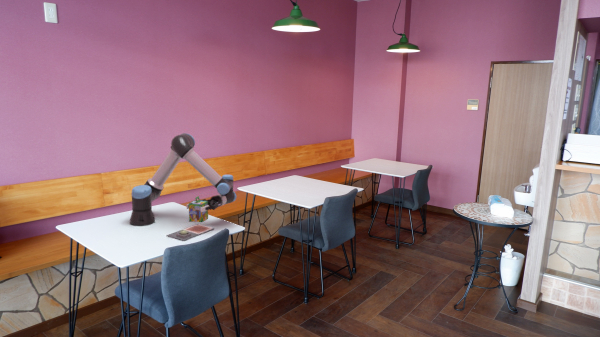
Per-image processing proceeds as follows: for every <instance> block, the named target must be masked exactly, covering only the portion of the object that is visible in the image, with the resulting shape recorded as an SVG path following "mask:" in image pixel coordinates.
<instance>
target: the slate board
mask: <svg viewBox="0 0 600 337" xmlns="http://www.w3.org/2000/svg"><path fill="white" fill-rule="evenodd" d="M181 230H187V234H186V235H181V234H180V231H181ZM214 230H215V228H214V227H212V226H207V225H204V224H201V223H200V224H199V223H198V224H194V225H192V226H188V227H186V228H183V229H180V230H177V231H175V232H172V233H169V234H166V237H167V236H168V238H172V239H174V238H175V240H178V241H181V242H185V241H188V240H191V239H193V238H196V237H198V236H201V235H202V234H206V233H208V232H211V231H214Z"/></svg>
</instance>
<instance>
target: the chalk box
mask: <svg viewBox="0 0 600 337" xmlns="http://www.w3.org/2000/svg"><path fill="white" fill-rule="evenodd" d="M194 199H195V200H193V201H191V202H188V204H189V209H188V221H189V222H193V223H204V222H205V221H207V220H208V219H209V210H207V211H204V212H201V207H204V206H207V205H208V201H200V200H201V199H200V196H196V197H195V198H194Z"/></svg>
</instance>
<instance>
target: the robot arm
mask: <svg viewBox="0 0 600 337" xmlns="http://www.w3.org/2000/svg"><path fill="white" fill-rule="evenodd" d="M170 144H171V146H170V148H169V149H170V151H169V153H168V154H167V155H166V157H165V159H164V160H163V161H162V163H161V164H160V165H159V167H158V169H157V170H156V172H155V173H154V174H153V176H152V177H151V178H150V177H149V178H148V179H147V180H146V182H145V183H144V184H141V185H136V186H134V187H133V188H132V189H131V208H132V212H131V214H130V219H129V224H130V225H131V226H137V227H138V226H140V227H142V226H149V225H152V224H154V223H155V221H156V219H155V215H154V212H153V210H152V208H153V206H152V202H154V201H155V200H157V199H158V198H159V197H160V196H161V193H162V191H163V190H164V184H165V183H166V181H167V180H168V179H169V177H170V176H171V174H172V173H173V172H174V170H175V169H176V167H177V166H178V164H179V163H180V161H181V160H186V162H187V163H188V164H190V166H192V167H193V168H194V169H195V170H196V172H198V173H199V174H200V175H201V176H202V177H203V178H205V180H207V181H208V182H209V183H210V184H211V185H212V186H213V187H214V188H216V192H217V194H216V195H213V196H211V197H210V199H206V198H204V199H200V201H208V205H207V206H204V207H201V212H204V211H207V210H208V211H209V210H210V211H211V210H213V211H215V210H216V209H218V208H219V207H222V206H224V205H227V204H228V205H229V204H232V203H234V202H235V201H236V200H237V194H236V192H235V191H234V176H233V175H232V174H223V175H222V176H221V175H220V174H219V173H218V172H217V171H216V170H215V169H214V168H213V167H212V166H211V165H209V164H208V163H207V162H206V161H205V160H204V159H203V158H202V157H201V156H200V155H199V154H198V153H197V152H196V151H194V150H195V149H194V147H195V145H196V140H195V138H194V137H193V135H191V133H190V134H189V133H181V134H177V135H176V136H174V137H173V138H172V140H171V142H170ZM186 210H189V203H188V204H186Z"/></svg>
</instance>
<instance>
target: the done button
mask: <svg viewBox="0 0 600 337" xmlns="http://www.w3.org/2000/svg"><path fill="white" fill-rule="evenodd" d="M180 230H181V231H180ZM180 230H179V231H180V234H181V235H186V234H187V230H183V229H180Z"/></svg>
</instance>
